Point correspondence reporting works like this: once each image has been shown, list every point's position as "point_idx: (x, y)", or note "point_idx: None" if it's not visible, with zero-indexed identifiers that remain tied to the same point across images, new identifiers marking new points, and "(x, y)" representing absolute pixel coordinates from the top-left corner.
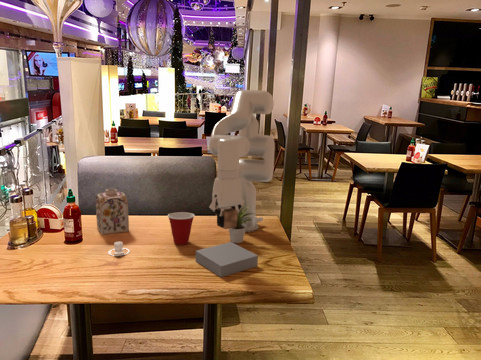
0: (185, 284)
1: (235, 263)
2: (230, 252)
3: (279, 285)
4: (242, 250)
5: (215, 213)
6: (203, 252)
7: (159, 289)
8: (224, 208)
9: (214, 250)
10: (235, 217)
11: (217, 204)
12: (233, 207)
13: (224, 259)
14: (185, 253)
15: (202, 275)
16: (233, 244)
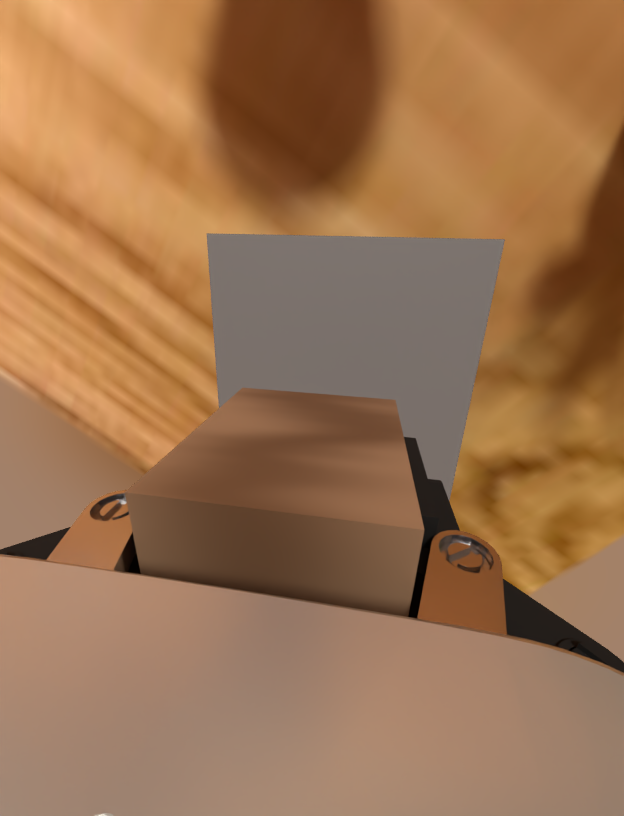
0: (106, 411)
1: None
2: (363, 386)
3: None
4: (440, 406)
5: (94, 501)
6: (235, 288)
7: (16, 385)
8: (272, 538)
9: (306, 303)
10: None
11: (29, 574)
12: (460, 621)
13: None
14: (235, 86)
15: (190, 392)
16: (476, 295)
